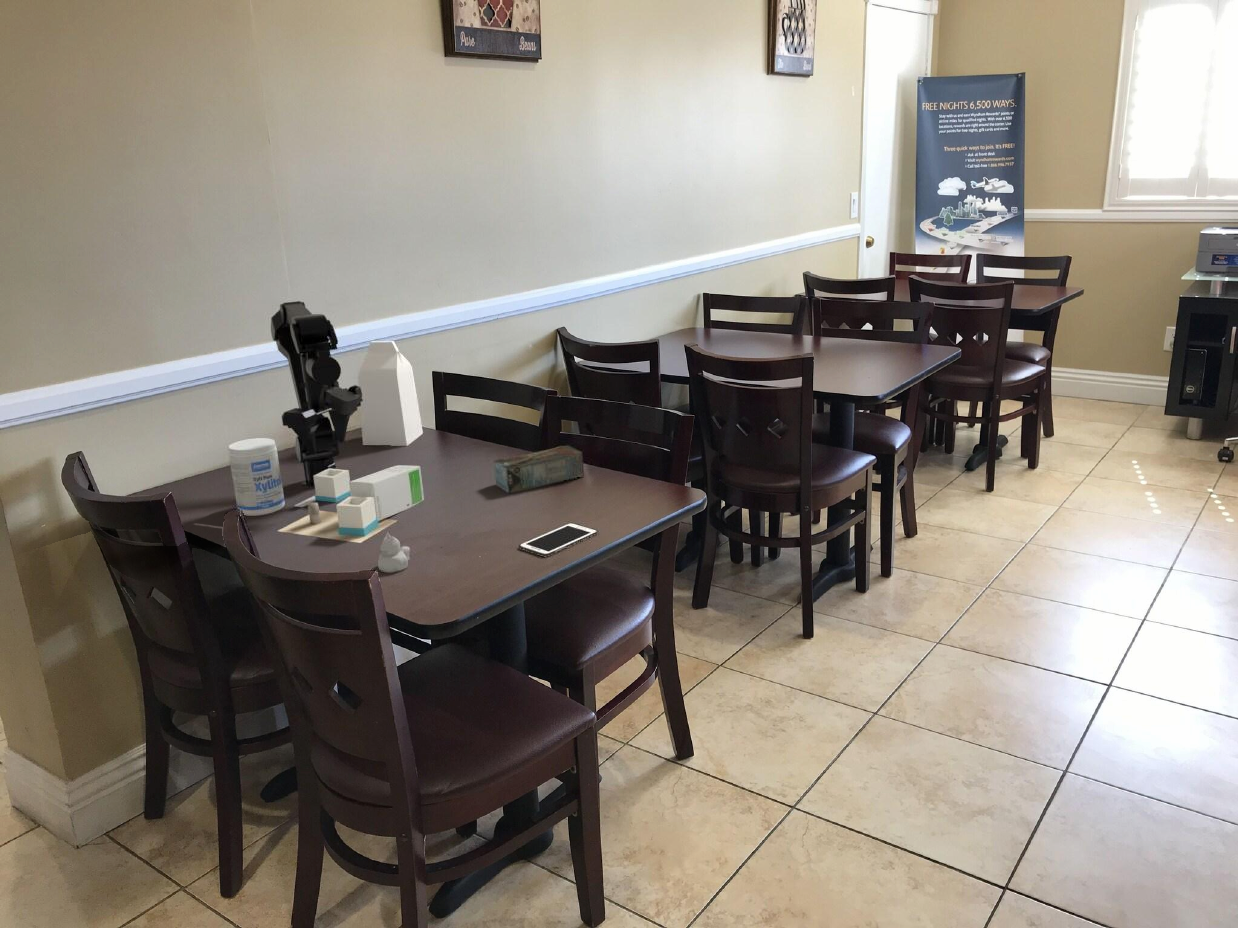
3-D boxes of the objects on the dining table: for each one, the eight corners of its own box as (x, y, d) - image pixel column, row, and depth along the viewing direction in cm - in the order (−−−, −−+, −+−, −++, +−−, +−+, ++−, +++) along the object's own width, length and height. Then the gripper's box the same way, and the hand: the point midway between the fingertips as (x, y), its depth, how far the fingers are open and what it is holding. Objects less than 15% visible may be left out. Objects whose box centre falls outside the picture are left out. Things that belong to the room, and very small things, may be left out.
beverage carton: (493, 485, 213) (491, 456, 211) (570, 469, 222) (569, 442, 220) (507, 494, 207) (505, 466, 205) (586, 478, 216) (585, 450, 213)
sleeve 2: (338, 534, 185) (334, 505, 183) (353, 523, 190) (349, 495, 188) (364, 536, 184) (361, 507, 182) (378, 525, 189) (375, 497, 187)
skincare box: (425, 502, 203) (379, 524, 189) (399, 500, 205) (352, 522, 192) (420, 464, 201) (373, 483, 187) (394, 463, 203) (346, 482, 190)
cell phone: (600, 534, 183) (600, 530, 183) (545, 559, 173) (545, 554, 173) (571, 526, 188) (571, 521, 188) (516, 550, 178) (516, 545, 177)
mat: (294, 507, 204) (293, 505, 204) (330, 489, 214) (330, 487, 214) (339, 513, 199) (339, 511, 199) (374, 494, 210) (374, 492, 210)
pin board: (277, 535, 188) (274, 512, 187) (318, 514, 199) (314, 492, 197) (360, 547, 181) (357, 523, 179) (398, 525, 191) (395, 501, 190)
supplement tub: (266, 519, 198) (255, 451, 193) (228, 516, 200) (216, 449, 196) (294, 503, 206) (284, 438, 202) (258, 500, 209) (247, 436, 205)
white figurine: (371, 574, 169) (366, 532, 167) (400, 561, 174) (395, 520, 171) (391, 581, 166) (386, 538, 163) (420, 568, 171) (415, 526, 168)
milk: (363, 445, 247) (350, 346, 239) (380, 433, 258) (369, 337, 249) (407, 446, 245) (395, 345, 237) (423, 433, 256) (412, 337, 247)
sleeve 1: (315, 502, 205) (311, 475, 203) (332, 493, 210) (329, 467, 208) (336, 504, 203) (333, 478, 201) (353, 496, 208) (349, 470, 206)
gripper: (319, 388, 187) (330, 464, 192) (376, 368, 203) (385, 439, 208) (274, 385, 191) (286, 460, 196) (334, 366, 208) (343, 435, 212)
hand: (327, 448), depth 203 cm, fingers open, 9 cm apart
